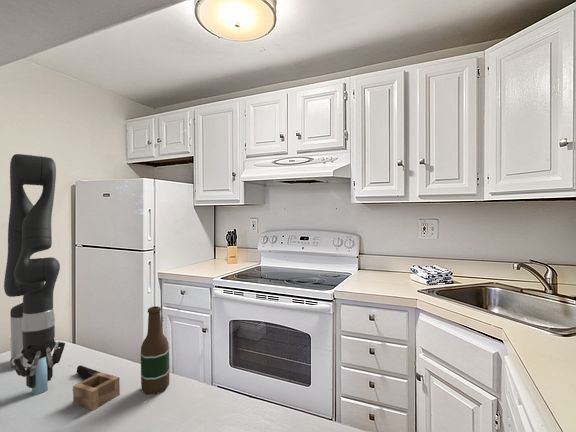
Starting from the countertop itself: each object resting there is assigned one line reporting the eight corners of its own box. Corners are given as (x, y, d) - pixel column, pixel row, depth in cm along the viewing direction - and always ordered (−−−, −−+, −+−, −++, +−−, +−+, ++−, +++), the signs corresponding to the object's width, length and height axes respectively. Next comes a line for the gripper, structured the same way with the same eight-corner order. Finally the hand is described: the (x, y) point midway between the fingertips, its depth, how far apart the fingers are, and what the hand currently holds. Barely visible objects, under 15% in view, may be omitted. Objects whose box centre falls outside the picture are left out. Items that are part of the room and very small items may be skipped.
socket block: (73, 403, 87) (73, 385, 87) (100, 389, 94) (100, 372, 94) (93, 410, 84) (92, 391, 84) (119, 394, 91) (119, 377, 91)
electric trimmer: (85, 371, 106) (85, 362, 106) (112, 382, 98) (112, 372, 98) (73, 376, 103) (73, 367, 103) (100, 388, 95) (100, 378, 95)
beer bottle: (141, 384, 96) (140, 305, 96) (168, 379, 99) (167, 302, 99) (140, 398, 89) (139, 312, 89) (170, 391, 92) (168, 309, 92)
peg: (29, 392, 93) (28, 358, 93) (43, 386, 96) (42, 353, 96) (36, 395, 91) (36, 360, 91) (50, 389, 95) (49, 355, 95)
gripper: (56, 317, 102) (57, 370, 102) (2, 332, 89) (3, 393, 89) (71, 319, 99) (72, 375, 99) (17, 336, 86) (19, 399, 86)
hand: (39, 383), depth 94 cm, fingers closed on peg, 3 cm apart
